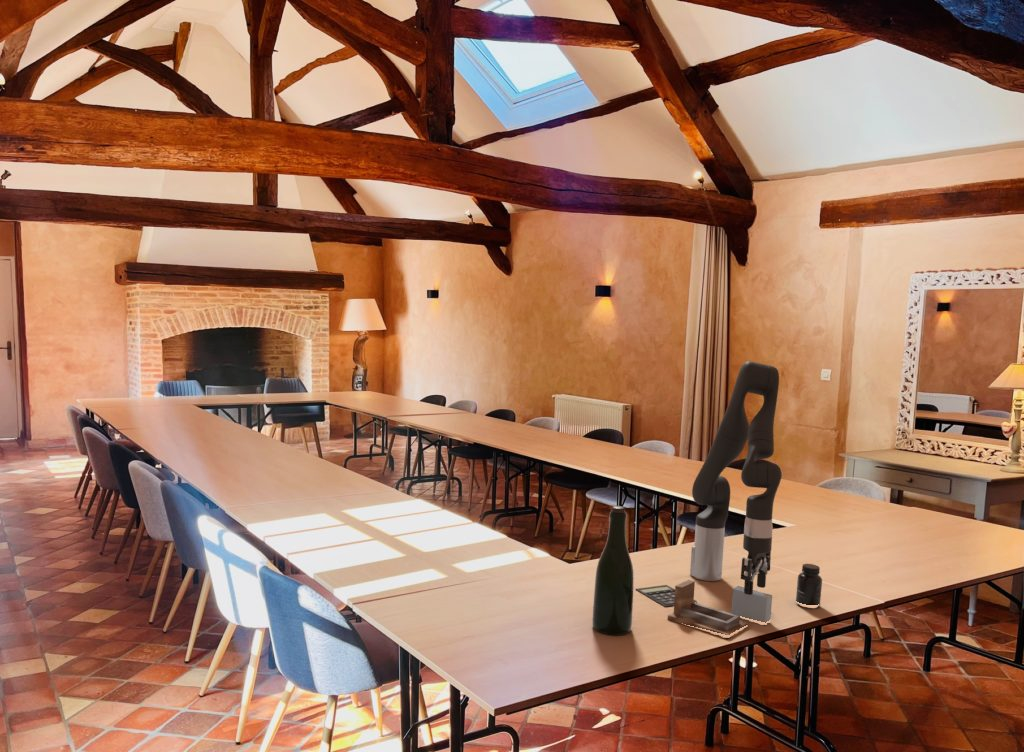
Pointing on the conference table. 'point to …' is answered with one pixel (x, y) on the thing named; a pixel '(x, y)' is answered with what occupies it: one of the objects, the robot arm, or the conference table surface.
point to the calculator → (660, 594)
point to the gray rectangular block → (751, 604)
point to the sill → (701, 612)
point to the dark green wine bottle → (614, 580)
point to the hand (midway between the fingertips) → (754, 590)
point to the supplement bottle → (809, 585)
